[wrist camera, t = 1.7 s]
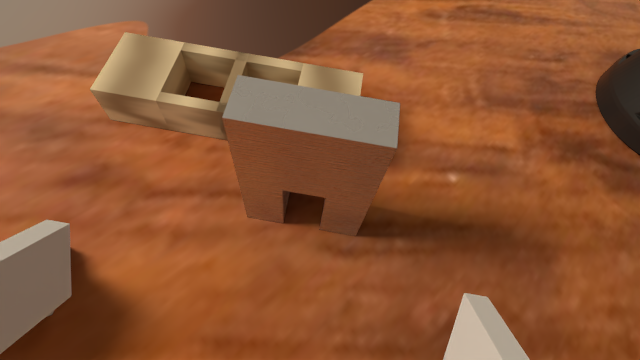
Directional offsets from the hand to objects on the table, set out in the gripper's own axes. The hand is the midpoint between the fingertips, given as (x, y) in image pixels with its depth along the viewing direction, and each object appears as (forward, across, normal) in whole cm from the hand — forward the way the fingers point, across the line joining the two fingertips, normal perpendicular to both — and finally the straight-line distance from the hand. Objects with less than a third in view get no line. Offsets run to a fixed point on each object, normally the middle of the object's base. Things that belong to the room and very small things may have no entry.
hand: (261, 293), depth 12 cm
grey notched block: (+18, 0, -4) cm, 18 cm away
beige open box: (+24, -8, +3) cm, 26 cm away
